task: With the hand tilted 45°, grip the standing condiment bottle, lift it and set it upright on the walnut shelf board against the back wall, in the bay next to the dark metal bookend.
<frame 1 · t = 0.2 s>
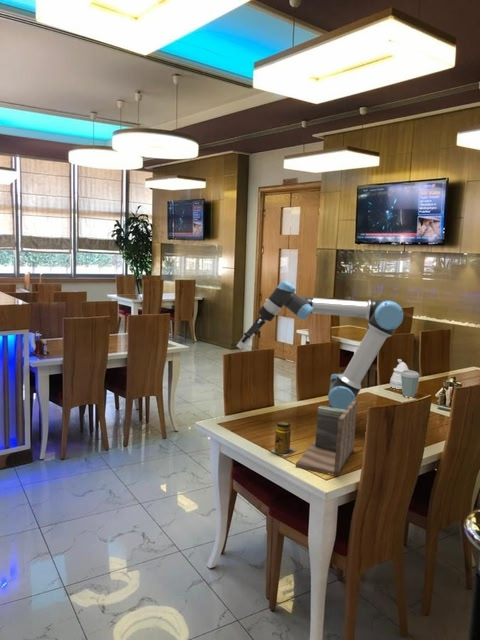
hand: (241, 345, 234), 36 cm above the table, tool tilted 35°, fingers open, 13 cm apart
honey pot: (400, 388, 311), on the table
disposable coffee cup: (407, 397, 292), on the table
condiment: (283, 451, 201), on the table
shelf: (324, 460, 194), on the table
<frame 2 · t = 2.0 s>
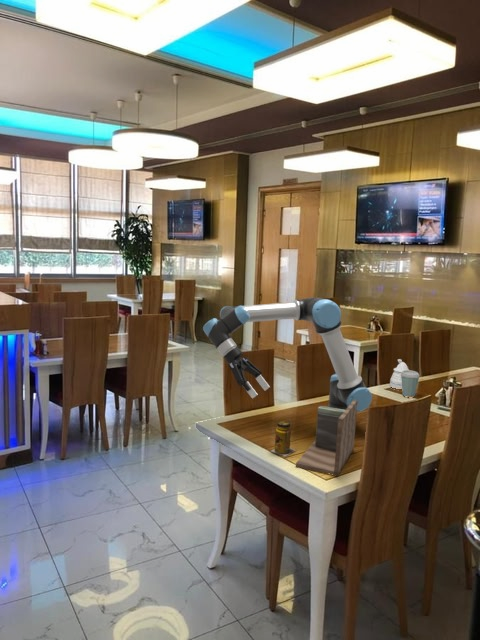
hand: (261, 392, 202), 23 cm above the table, tool tilted 45°, fingers open, 13 cm apart
nothing on the table moved.
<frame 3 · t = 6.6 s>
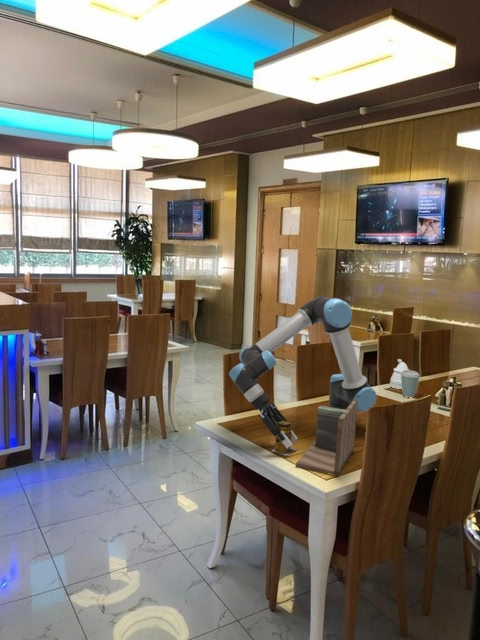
hand: (292, 443, 199), 4 cm above the table, tool tilted 45°, fingers open, 6 cm apart
condiment: (283, 451, 201), on the table, touching gripper
everything else where it was.
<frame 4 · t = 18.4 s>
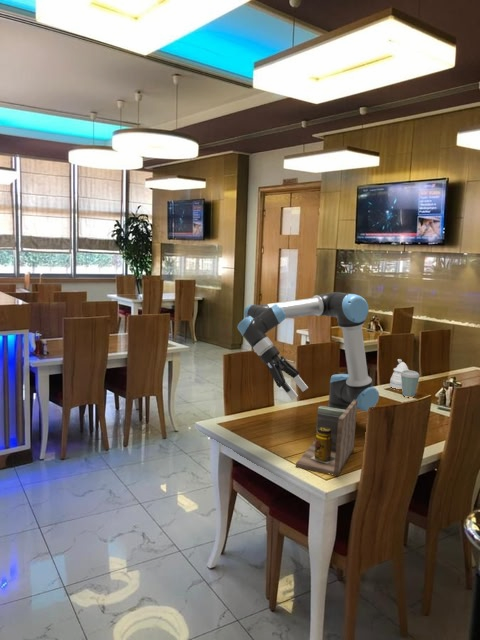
hand: (300, 393, 192), 26 cm above the table, tool tilted 45°, fingers open, 13 cm apart
condiment: (323, 458, 192), point 1 cm above the table, touching shelf
everything else where it was.
at the end: condiment inside the target area on the shelf (0.9 cm from its centre), point 1.3 cm above the shelf's base; condiment tilted 0°; the gripper is holding nothing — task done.
